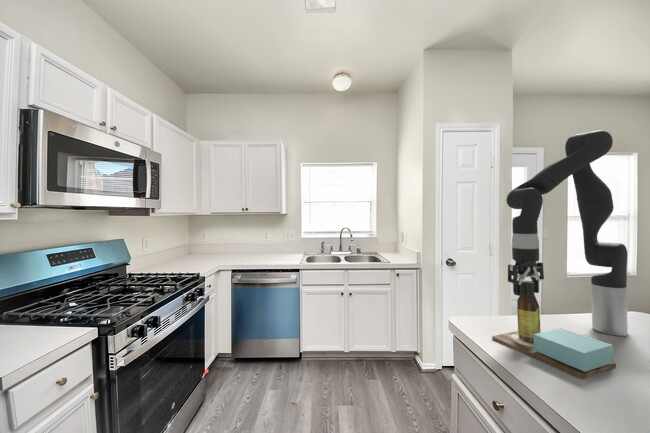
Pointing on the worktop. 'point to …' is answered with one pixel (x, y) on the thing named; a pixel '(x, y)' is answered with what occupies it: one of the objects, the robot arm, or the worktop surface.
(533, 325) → the sauce bottle
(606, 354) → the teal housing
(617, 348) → the worktop surface
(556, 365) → the walnut board
